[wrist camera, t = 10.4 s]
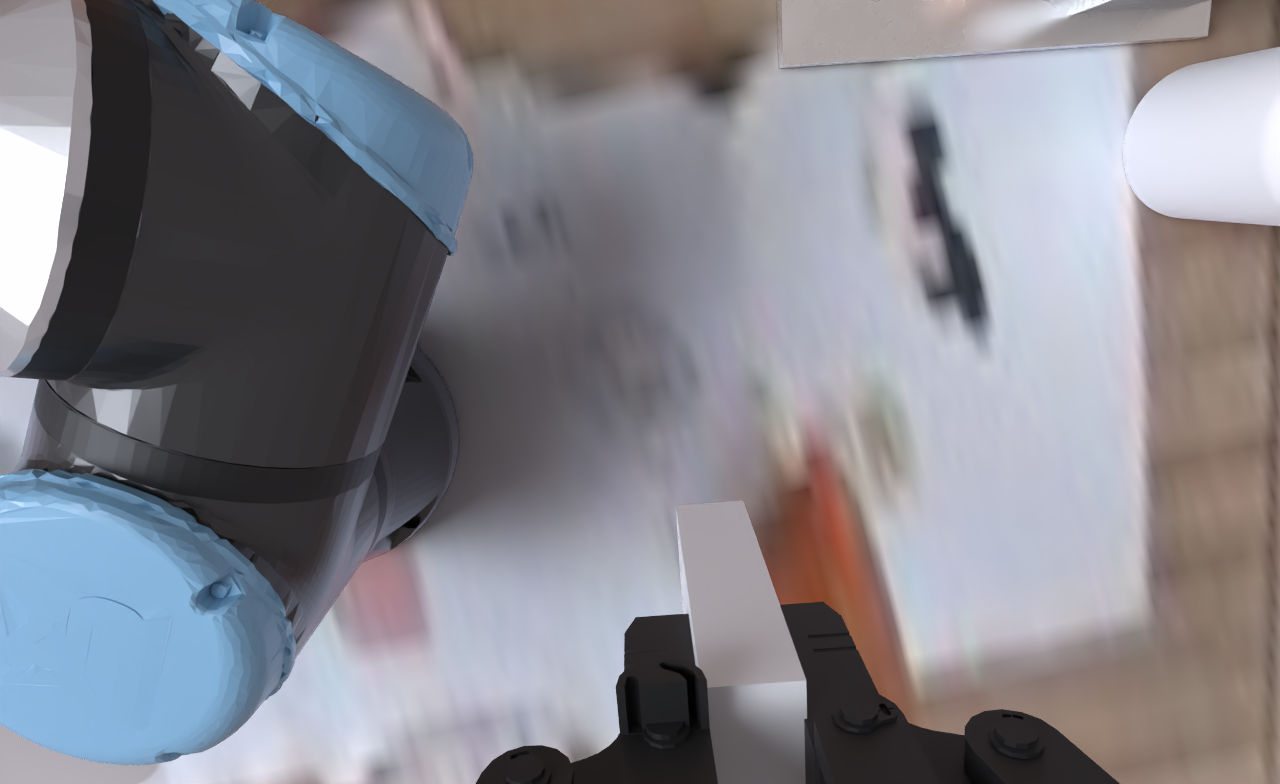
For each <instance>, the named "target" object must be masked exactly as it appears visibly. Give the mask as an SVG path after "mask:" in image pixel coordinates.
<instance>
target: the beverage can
mask: <svg viewBox="0 0 1280 784" xmlns="http://www.w3.org/2000/svg"><path fill="white" fill-rule="evenodd" d="M1123 164H1124V169H1125V173H1126V177H1127V180H1128V182H1129V184H1130V186H1131V188H1132V190H1133V191H1134V193H1135V194H1136V195H1137V197H1138V198H1139V199H1140V200H1141V201H1142V202H1143V203H1144V204H1145V205H1146V206H1148V207H1149V208H1151V209H1152V210H1154V211H1156V212H1158V213H1160V214H1163V215H1166V216H1169V217H1174V218H1182V219H1195V220H1208V221H1221V222H1234V223H1247V224H1259V225H1272V226H1280V47H1276V48H1271V49H1266V50H1261V51H1256V52H1251V53H1246V54H1241V55H1236V56H1231V57H1226V58H1221V59H1215V60H1210V61H1205V62H1201V63H1196V64H1192V65H1189V66H1186V67H1183V68H1181V69H1179V70H1176V71H1175V72H1173V73H1171V74H1169V75H1168V76H1166V77H1165V78H1163V79H1162V80H1161V81H1159V82H1158V83H1157V84H1156V85H1155V86H1154V87H1153V88H1152V89H1151V90H1150V91H1149V92H1148V93H1147V94H1146V95H1145V96H1144V98H1143V99H1142V100H1141V102H1140V103H1139V104H1138V106H1137V108H1136V109H1135V111H1134V113H1133V115H1132V117H1131V119H1130V121H1129V124H1128V127H1127V130H1126V134H1125V138H1124V144H1123Z"/></svg>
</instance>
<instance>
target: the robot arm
mask: <svg viewBox="0 0 1280 784" xmlns="http://www.w3.org/2000/svg"><path fill="white" fill-rule="evenodd" d="M472 172H473V153H472V150H471V147H470V144H469V141H468V138H467V136H466V134H465V132H464V131H463V130H462V128H461V127H460V126H459V124H458V123H457V122H456V121H455V120H454V119H453V118H452V117H451V116H450V115H449V114H448V113H447V112H445V111H444V110H443V109H441V108H440V107H438V106H437V105H436V104H434V103H433V102H431V101H430V100H428V99H427V98H425V97H424V96H422V95H420V94H419V93H417V92H416V91H414V90H413V89H411V88H410V87H408V86H406V85H405V84H403V83H402V82H400V81H398V80H397V79H395V78H394V77H392V76H390V75H389V74H387V73H385V72H384V71H382V70H380V69H378V68H377V67H375V66H373V65H372V64H370V63H368V62H367V61H365V60H363V59H362V58H360V57H358V56H356V55H355V54H353V53H351V52H349V51H348V50H346V49H344V48H342V47H341V46H339V45H337V44H335V43H334V42H332V41H330V40H328V39H326V38H325V37H323V36H321V35H319V34H318V33H316V32H314V31H312V30H310V29H308V28H306V27H305V26H303V25H301V24H299V23H297V22H295V21H293V20H292V19H290V18H288V17H285V16H283V15H279V14H274V13H273V12H272V11H271V10H270V9H269V8H268V7H266V6H264V5H262V4H261V3H259V2H257V1H255V0H0V376H3V377H17V378H31V379H39V382H38V386H37V391H36V395H35V399H34V404H33V408H32V412H31V417H30V421H29V425H28V430H27V434H26V438H25V443H24V447H23V452H22V455H21V458H20V461H19V463H18V465H17V466H16V468H15V469H14V471H13V472H12V473H11V474H8V475H1V476H0V724H1V725H2V726H4V727H5V728H7V729H8V730H11V731H12V732H14V733H16V734H17V735H20V736H21V737H23V738H25V739H27V740H29V741H31V742H33V743H35V744H38V745H40V746H42V747H45V748H48V749H50V750H53V751H55V752H58V753H61V754H65V755H68V756H71V757H75V758H79V759H84V760H88V761H93V762H98V763H106V764H116V765H149V764H156V763H162V762H168V761H172V760H175V759H177V758H179V757H180V756H181V755H188V754H190V753H198V752H203V751H205V750H207V749H209V748H211V747H213V746H215V745H217V744H219V743H220V742H222V741H224V740H225V739H227V738H228V737H229V736H231V735H232V734H233V733H235V732H236V731H237V730H238V729H239V728H240V727H241V726H242V725H244V724H245V723H246V722H247V721H248V719H249V718H250V717H251V716H252V715H253V714H254V712H255V711H256V710H257V709H258V707H259V706H260V705H261V704H262V703H263V701H265V700H267V699H268V698H269V696H271V695H273V694H275V693H276V692H277V691H278V690H279V689H280V688H281V686H282V684H283V682H284V681H285V680H286V679H287V678H288V677H289V675H290V672H291V670H292V668H293V665H294V662H295V659H296V657H297V656H298V654H299V653H300V651H301V650H302V648H303V647H304V645H305V644H306V643H307V641H308V640H309V638H310V637H311V635H312V634H313V632H314V631H315V629H316V628H317V627H318V625H319V624H320V622H321V621H322V619H323V618H324V616H325V615H326V613H327V612H328V611H329V609H330V608H331V606H332V605H333V603H334V602H335V600H336V599H337V597H338V596H339V595H340V593H341V592H342V590H343V589H344V587H345V586H346V584H347V583H348V581H349V580H350V579H351V577H352V576H353V574H354V573H355V571H356V570H357V568H358V567H359V565H360V564H361V563H363V562H365V561H367V560H370V559H372V558H374V557H377V556H379V555H382V554H384V553H386V552H388V551H390V550H392V549H393V548H395V547H397V546H398V545H400V544H401V543H403V542H404V541H406V540H407V539H408V538H409V537H411V536H412V535H413V534H414V533H415V532H416V531H417V530H418V529H419V528H420V527H422V526H423V524H424V523H425V522H426V521H427V520H428V519H429V517H430V516H431V515H432V513H433V512H434V510H435V509H436V507H437V505H438V504H439V502H440V500H441V499H442V497H443V495H444V494H445V492H446V490H447V488H448V486H449V484H450V481H451V479H452V476H453V473H454V470H455V466H456V462H457V456H458V446H459V432H458V423H457V417H456V412H455V408H454V405H453V402H452V399H451V396H450V394H449V391H448V389H447V387H446V385H445V383H444V381H443V379H442V378H441V376H440V374H439V373H438V371H437V370H436V368H435V367H434V365H433V364H432V363H431V361H430V360H429V359H428V358H427V356H426V355H425V354H424V353H423V352H422V351H421V350H420V349H419V348H418V347H417V343H418V340H419V337H420V334H421V331H422V328H423V326H424V323H425V320H426V317H427V314H428V311H429V308H430V305H431V302H432V299H433V296H434V293H435V290H436V287H437V284H438V281H439V278H440V275H441V272H442V269H443V266H444V263H445V260H446V257H447V255H449V256H453V255H454V254H455V252H456V249H457V240H456V237H455V232H456V229H457V225H458V222H459V218H460V215H461V211H462V208H463V205H464V201H465V198H466V194H467V191H468V187H469V184H470V181H471V177H472ZM676 517H677V532H678V547H679V562H680V578H681V593H682V608H683V614H676V615H662V616H648V617H636V618H635V619H634V621H633V622H632V624H631V625H630V626H629V628H628V629H627V631H626V632H625V647H624V651H625V654H624V668H625V669H624V672H623V673H622V674H621V675H620V676H619V679H618V682H617V685H616V694H617V705H618V716H619V726H620V734H619V735H618V737H617V739H616V740H615V741H614V742H613V743H612V744H611V745H610V746H609V747H607V748H605V749H604V750H602V751H601V752H599V753H598V754H595V755H593V756H590V757H588V758H586V759H583V760H580V761H576V762H573V763H570V761H569V759H568V757H567V756H565V755H564V754H563V753H561V752H560V751H559V750H557V749H554V748H550V747H546V746H542V745H538V746H523V747H520V748H517V749H513V750H510V751H507V752H505V753H504V754H502V755H501V756H499V757H497V758H496V759H494V760H493V761H492V762H491V763H490V764H489V765H488V766H487V767H486V769H485V770H484V771H483V772H482V773H481V775H480V777H479V779H478V781H477V782H476V784H1119V783H1118V782H1117V781H1116V780H1115V779H1114V778H1112V777H1111V776H1110V775H1109V774H1108V773H1107V772H1105V771H1104V770H1103V769H1102V768H1101V767H1100V766H1098V765H1097V764H1096V763H1095V762H1094V761H1093V760H1091V759H1090V758H1089V757H1088V756H1087V755H1086V754H1084V753H1083V752H1082V751H1081V750H1080V749H1079V748H1077V747H1076V746H1075V745H1074V744H1073V743H1072V742H1070V741H1069V740H1068V739H1067V738H1066V737H1065V736H1064V735H1062V734H1061V733H1060V732H1059V731H1058V730H1057V729H1055V728H1053V727H1052V726H1050V725H1049V724H1047V723H1046V722H1044V721H1043V720H1041V719H1039V718H1036V717H1033V716H1031V715H1028V714H1025V713H1022V712H1017V711H1010V710H1003V709H1001V710H991V711H984V712H982V713H980V714H977V715H975V716H973V717H971V719H970V720H969V722H968V723H967V725H966V726H965V735H958V734H952V733H945V732H938V731H933V730H929V729H924V728H921V727H918V726H915V725H913V724H910V723H908V722H907V720H906V718H905V716H904V714H903V713H902V712H901V710H900V709H899V708H898V707H897V706H896V704H895V703H893V702H891V701H890V700H888V699H886V698H884V697H883V696H881V695H879V693H878V691H877V689H876V687H875V685H874V683H873V681H872V679H871V677H870V675H869V673H868V671H867V669H866V666H865V664H864V662H863V660H862V658H861V656H860V654H859V652H858V650H856V646H855V644H854V642H853V639H852V637H851V636H850V635H849V631H848V629H847V627H846V625H845V623H844V621H843V619H842V617H841V615H839V614H838V613H837V612H836V611H834V610H833V609H832V608H830V607H829V606H828V605H826V604H825V603H824V602H815V603H801V604H787V605H780V604H779V601H778V598H777V595H776V593H775V590H774V587H773V584H772V581H771V578H770V576H769V573H768V570H767V567H766V564H765V561H764V558H763V556H762V553H761V550H760V547H759V544H758V541H757V539H756V536H755V533H754V530H753V527H752V524H751V521H750V519H749V516H748V513H747V510H746V507H745V504H744V501H743V500H742V501H729V502H715V503H701V504H688V505H676Z"/></svg>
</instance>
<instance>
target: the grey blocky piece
mask: <svg viewBox="0 0 1280 784" xmlns="http://www.w3.org/2000/svg"><path fill="white" fill-rule="evenodd" d="M1211 3H1212V0H777V8H778V59H779V68H792V67H806V66H820V65H835V64H849V63H864V62H878V61H893V60H907V59H922V58H936V57H950V56H965V55H979V54H994V53H1008V52H1023V51H1037V50H1052V49H1066V48H1080V47H1095V46H1109V45H1124V44H1138V43H1153V42H1167V41H1181V40H1193V39H1197V38H1202V37H1206V36H1208V30H1209V21H1210V12H1211Z"/></svg>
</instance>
